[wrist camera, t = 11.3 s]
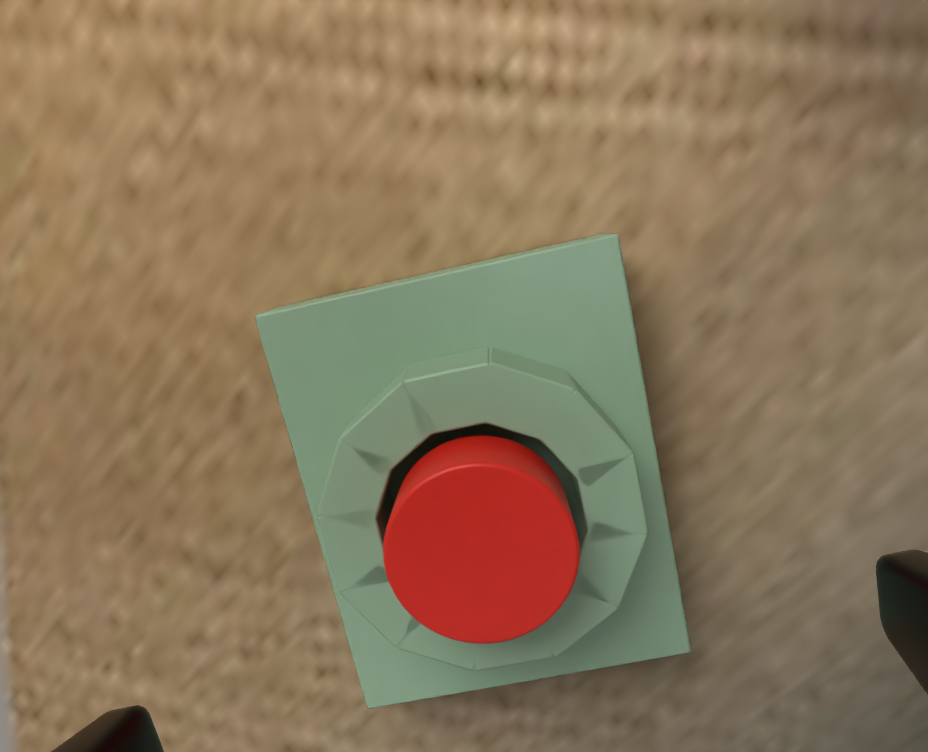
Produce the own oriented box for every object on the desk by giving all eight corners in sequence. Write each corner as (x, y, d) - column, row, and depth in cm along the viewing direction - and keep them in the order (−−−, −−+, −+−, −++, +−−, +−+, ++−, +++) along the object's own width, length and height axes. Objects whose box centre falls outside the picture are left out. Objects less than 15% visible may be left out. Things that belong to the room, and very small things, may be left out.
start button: (584, 579, 14) (597, 626, 12) (417, 610, 14) (408, 660, 13) (550, 418, 13) (559, 444, 12) (376, 453, 14) (360, 484, 12)
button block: (672, 613, 18) (717, 705, 14) (378, 667, 18) (352, 767, 15) (604, 232, 16) (637, 232, 12) (277, 307, 16) (220, 326, 13)
